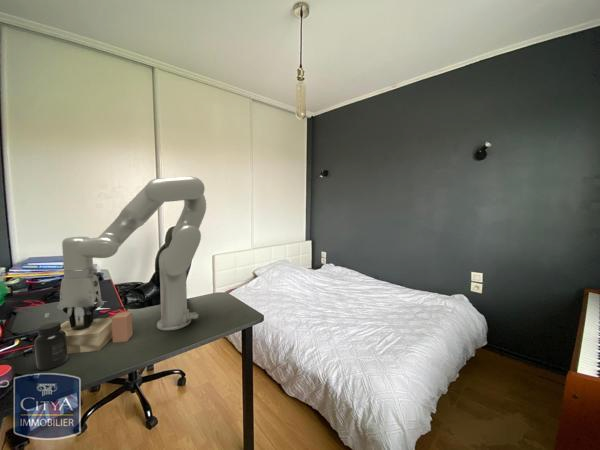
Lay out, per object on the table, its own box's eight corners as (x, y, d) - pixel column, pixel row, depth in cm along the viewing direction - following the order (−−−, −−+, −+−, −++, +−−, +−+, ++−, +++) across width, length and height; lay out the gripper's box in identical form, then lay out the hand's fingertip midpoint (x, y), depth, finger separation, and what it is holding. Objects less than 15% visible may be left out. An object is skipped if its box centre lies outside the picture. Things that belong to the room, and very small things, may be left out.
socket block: (117, 332, 95) (116, 317, 95) (99, 350, 84) (98, 333, 83) (67, 336, 92) (66, 320, 91) (41, 356, 80) (40, 338, 80)
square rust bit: (132, 334, 94) (131, 311, 93) (127, 341, 90) (126, 316, 89) (119, 336, 93) (117, 312, 92) (112, 342, 89) (111, 317, 88)
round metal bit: (90, 328, 89) (89, 300, 89) (84, 333, 86) (83, 304, 85) (79, 329, 89) (77, 301, 88) (72, 334, 85) (71, 305, 84)
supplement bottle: (68, 354, 81) (66, 318, 81) (67, 364, 76) (65, 326, 75) (37, 362, 77) (35, 324, 76) (34, 374, 72) (31, 333, 71)
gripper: (112, 269, 91) (114, 318, 93) (58, 271, 88) (61, 322, 89) (100, 275, 84) (103, 328, 85) (41, 277, 80) (45, 332, 82)
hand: (81, 324), depth 87 cm, fingers closed on round metal bit, 3 cm apart
